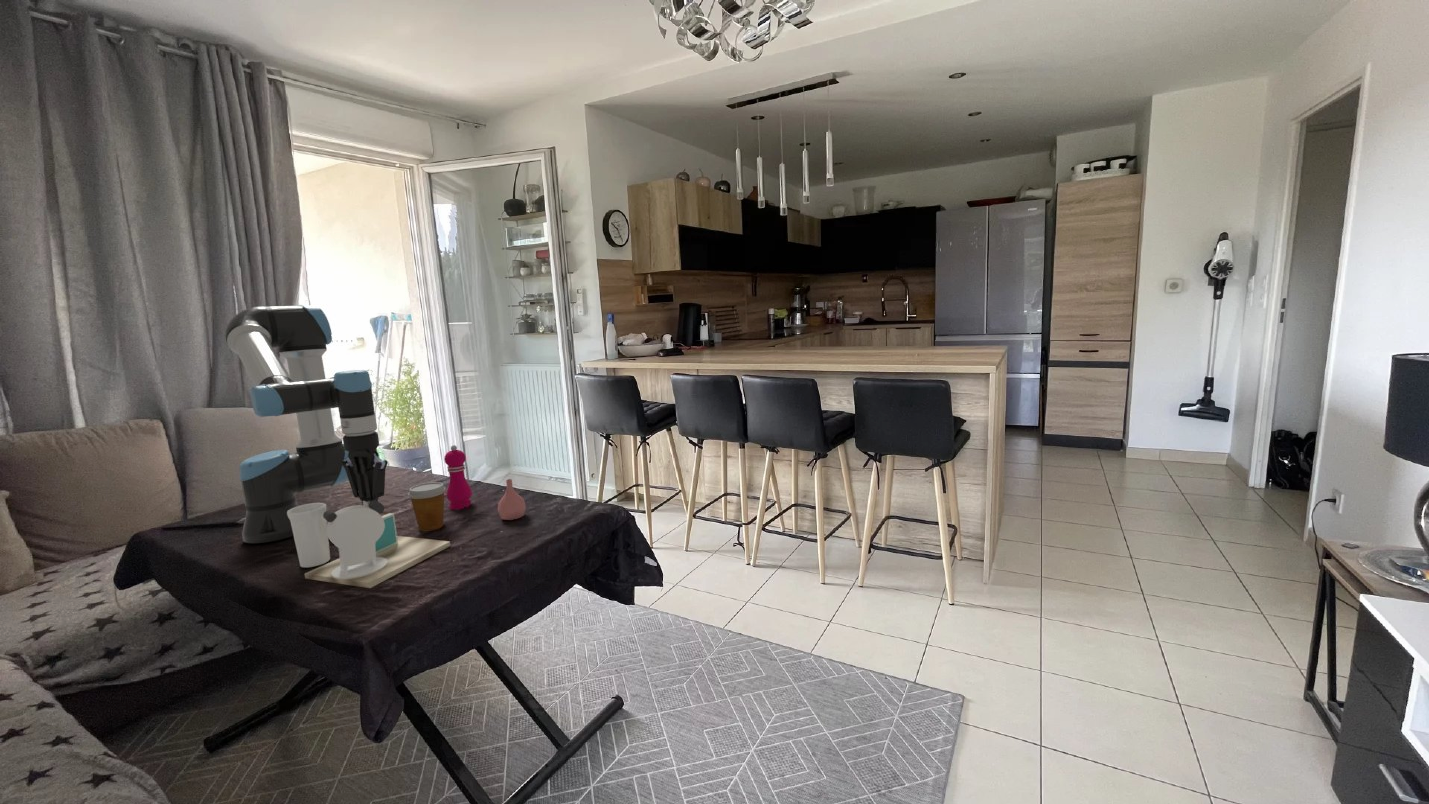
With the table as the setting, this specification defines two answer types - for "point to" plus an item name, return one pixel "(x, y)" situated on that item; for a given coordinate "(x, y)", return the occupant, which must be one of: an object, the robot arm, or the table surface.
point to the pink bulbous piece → (511, 504)
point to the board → (397, 558)
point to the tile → (387, 534)
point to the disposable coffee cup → (428, 505)
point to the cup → (310, 534)
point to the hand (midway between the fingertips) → (373, 524)
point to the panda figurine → (356, 539)
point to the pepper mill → (457, 479)
